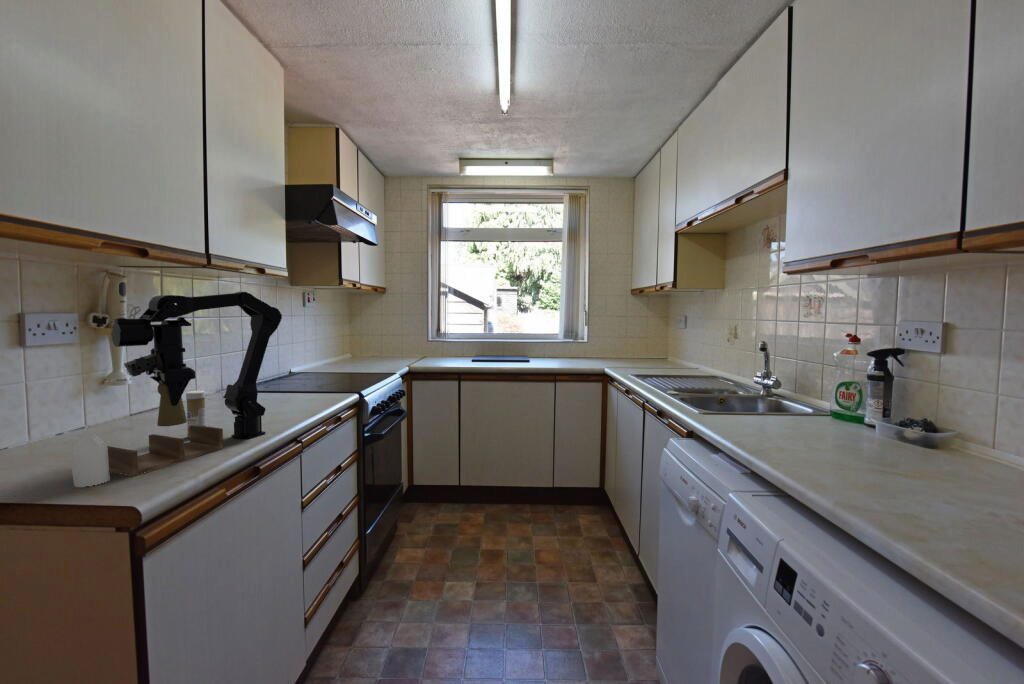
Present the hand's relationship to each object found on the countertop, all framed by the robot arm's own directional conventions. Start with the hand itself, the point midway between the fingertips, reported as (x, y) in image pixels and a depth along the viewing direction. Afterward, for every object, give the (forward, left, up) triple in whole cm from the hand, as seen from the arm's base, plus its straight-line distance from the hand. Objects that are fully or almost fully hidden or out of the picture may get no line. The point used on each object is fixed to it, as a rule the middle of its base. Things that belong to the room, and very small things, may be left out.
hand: (171, 404), depth 110 cm
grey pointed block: (+19, +4, -13) cm, 24 cm away
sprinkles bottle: (-12, -9, -13) cm, 20 cm away
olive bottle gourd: (0, 0, -5) cm, 5 cm away
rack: (+4, +3, -13) cm, 14 cm away
